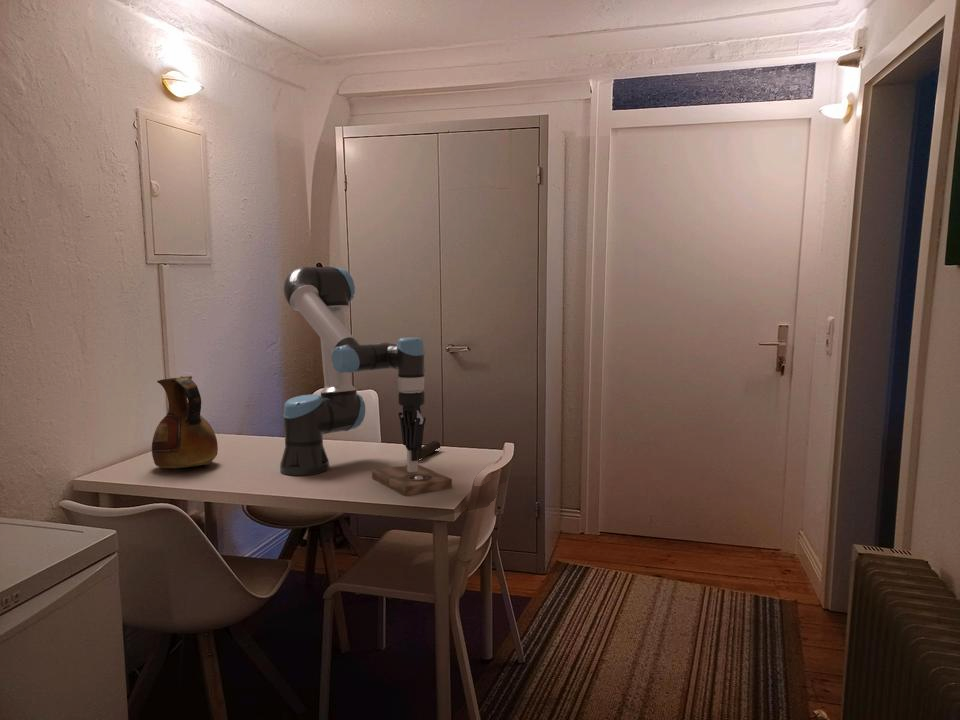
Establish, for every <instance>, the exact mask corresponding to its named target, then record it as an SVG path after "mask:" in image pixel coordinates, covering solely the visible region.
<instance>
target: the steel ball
mask: <svg viewBox="0 0 960 720" xmlns="http://www.w3.org/2000/svg"><path fill="white" fill-rule="evenodd" d="M419 479H424V478H423V477H422V476H419V475H418V476H415V477H414V480H419Z"/></svg>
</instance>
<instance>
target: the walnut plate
mask: <svg viewBox="0 0 960 720" xmlns="http://www.w3.org/2000/svg"><path fill="white" fill-rule="evenodd" d="M371 473H372V474H371V476H372V477H371V479H373V480H374V481H376V482H378V483H380V484H381V485H384V486H386V487H387V488H389V489H391V490H393V491H395V492H396V493H399V494H401V495H403V496H405V497H406V496H411V495H417V494H424V493H429V492H433V491H440V490H445V489H451V488H453V479H452V478H450V477H448V476H445V475H443V474H441V473H438V472H436V471H434V470H431V469H429V468H427V467H425V466H423V465H421V464H418V471H414V472H408V471H407V464H406V465H400V466H399V465H398V466H394V467H393V466H392V467H385V468H380V469H373V470H371ZM418 475H419V476H422V477H423V478H424V479H419V480H414V477H415V476H418Z"/></svg>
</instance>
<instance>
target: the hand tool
mask: <svg viewBox="0 0 960 720" xmlns="http://www.w3.org/2000/svg"><path fill="white" fill-rule="evenodd" d="M438 448H440V449H441V444H440V441H436V440H432V441H430V442H429V443H427V444H425V445H422V448H419V449H418V460H419V459H421V458H422V459H423V458H425V457H427V456H429V455H431V454H433V453H432V452H434V451H435V450H436V449H438ZM430 453H431V454H430ZM434 453H435V452H434ZM428 454H429V455H428ZM426 455H427V456H426ZM424 456H425V457H424Z"/></svg>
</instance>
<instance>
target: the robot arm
mask: <svg viewBox="0 0 960 720" xmlns="http://www.w3.org/2000/svg"><path fill="white" fill-rule="evenodd" d="M355 293H356V287H355V282H354V279H353V277H352V275H351V273H349V271H348V270H347V269H345V268H343V267H342V268H341V267H335V266H300V267H296V268H295V269H293V270H292V271H290V272H289V274H288V275H287V276H286V278H285V280H284V284H283V294H284V298H285V299H286V301H287V303H288V305H289V306H290V307H291V308H292V309H293V310H294V311H296V312H299V313H300V314H301V316H302V317H303V318H304V319H305V320H306V322H307V323H308V324H309V325H310V327H311V328H312V330H313V331H315V333H316V334H317V335H318V337H319V338H320V346H321V347H320V348H321V357H322V358H321V359H322V370H323V379H324V380H323V381H324V387H323V389H321V391H320V394H318V393H317V394H316V393H315V394H313V393H310V394H303V395H302V394H301V395H298V396H294V397H291V398H289V399H287V400H286V401H285V402H284V405H283V406H284V407H283V419H284V420H283V423H284V425H283V426H284V449H283V454H282V457H281V460H280V465H279V469H280V470H279V471H280V473H281V474H284V475H289V476H309V475H310V476H311V475H316V474H317V475H318V474H320V473H324V472H326V471H328V470H329V469H330V460H329V458H328V456H327V453H326V449H325V447H324V441H323V440H324V438H323V436H324V435H327V434H333V433H341V432H349V431H350V430H355V429H357V428H359V427H360V426H361V425H362V424H363V422H364V419H365V416H366V403H365V401H364V399H363V396H362V395H360V394H358V392H357V388H356V387H355V386H354V385H352V379H351V377H352V376H351V373H357V372H365V371H377V370H390V369H391V370H397V383H398V384H397V385H398V386H397V388H398V389H397V390H398V391H399V392H398V405H400V406H402V411H400V412H398V418H399V422H400V423H399V424H400V430H401V431H400V432H401V440H402V446H405V448H406V465H407V471H408V472H414V471H418V465H419V461H418V449H419V448H422V447H423V438H424V430H425V429H424V428H425V424H426V420H427V418H426V417H425V416H424V417H423V416H422V410H421V406H423V405H424V404H425V402H426V401H425V397H426V396H425V395H426V394H425V392H424V390H425V381H426V379H425V347H424V346H425V345H424V340H423V339H422V338H421V337H400V338H398V340H397V343H392V342H391V343H390V342H378V343H374V344H371V343H370V344H360V343H359V342H358V341H357V339H355V337H353V335H352V334H351V333H350V331H349V330H348V329H347V325H346V322H347V321H346V311H347V310H348V309H349V307H350V305H349V304H350V302H352V301H353V299H354V297H355V296H354V295H355Z"/></svg>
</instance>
